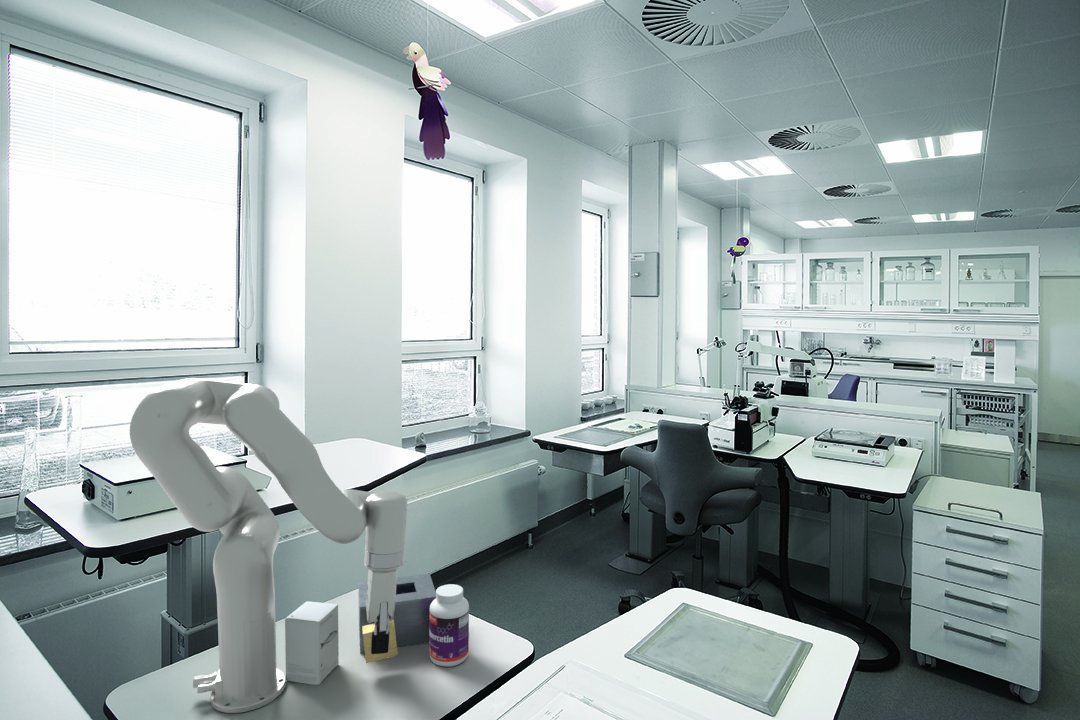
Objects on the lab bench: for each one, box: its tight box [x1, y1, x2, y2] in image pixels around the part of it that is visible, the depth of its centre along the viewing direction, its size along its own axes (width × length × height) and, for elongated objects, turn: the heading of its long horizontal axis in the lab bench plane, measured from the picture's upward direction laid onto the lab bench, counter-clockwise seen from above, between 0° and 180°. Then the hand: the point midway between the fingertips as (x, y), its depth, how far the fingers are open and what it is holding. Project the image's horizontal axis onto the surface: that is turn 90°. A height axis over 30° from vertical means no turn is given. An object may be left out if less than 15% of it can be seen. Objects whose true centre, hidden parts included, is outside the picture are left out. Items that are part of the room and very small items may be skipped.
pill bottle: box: [428, 583, 470, 667], centre depth 121 cm, size 8×8×14 cm
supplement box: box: [284, 600, 340, 686], centre depth 116 cm, size 7×7×13 cm
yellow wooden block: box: [362, 619, 399, 664], centre depth 116 cm, size 6×3×6 cm, turn 108°
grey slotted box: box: [357, 573, 436, 654], centre depth 131 cm, size 16×12×10 cm
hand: (379, 647), depth 116 cm, fingers closed on yellow wooden block, 2 cm apart
